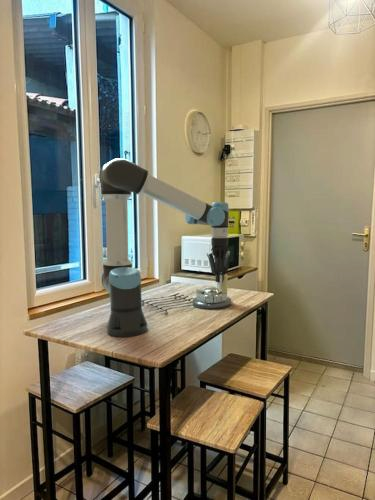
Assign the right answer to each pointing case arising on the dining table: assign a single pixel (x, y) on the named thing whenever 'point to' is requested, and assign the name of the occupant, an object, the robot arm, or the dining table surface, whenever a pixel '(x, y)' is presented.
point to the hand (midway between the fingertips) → (219, 289)
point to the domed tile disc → (213, 298)
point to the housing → (212, 305)
